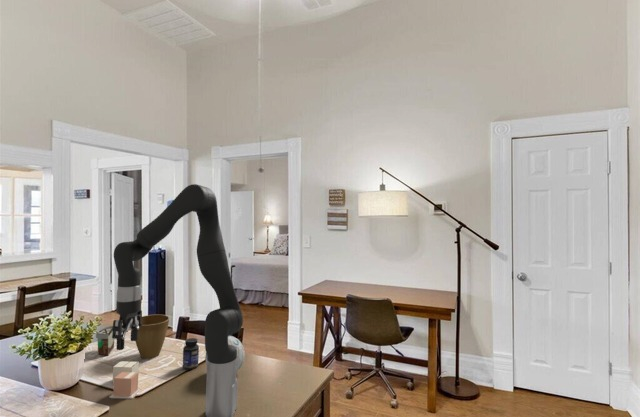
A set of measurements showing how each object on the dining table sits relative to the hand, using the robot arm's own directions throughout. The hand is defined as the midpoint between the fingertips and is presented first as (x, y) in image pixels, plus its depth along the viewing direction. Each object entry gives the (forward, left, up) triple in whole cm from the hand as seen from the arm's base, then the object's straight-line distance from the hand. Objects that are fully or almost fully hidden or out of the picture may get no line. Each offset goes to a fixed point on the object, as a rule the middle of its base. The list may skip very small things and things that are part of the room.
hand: (127, 344), depth 120 cm
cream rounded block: (+6, -10, -17) cm, 20 cm away
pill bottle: (-14, -23, -17) cm, 32 cm away
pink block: (0, 0, -17) cm, 17 cm away
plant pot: (+8, -33, -17) cm, 38 cm away
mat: (0, 0, -17) cm, 17 cm away
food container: (+30, -35, -17) cm, 49 cm away
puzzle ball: (-30, -17, -17) cm, 38 cm away
